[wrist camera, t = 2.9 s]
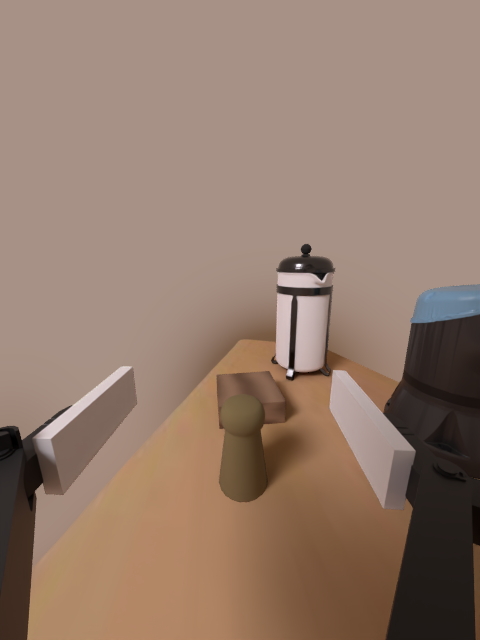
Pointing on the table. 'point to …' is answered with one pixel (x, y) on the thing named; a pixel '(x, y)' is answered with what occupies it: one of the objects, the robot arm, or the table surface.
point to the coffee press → (303, 313)
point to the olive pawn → (242, 448)
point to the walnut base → (253, 393)
